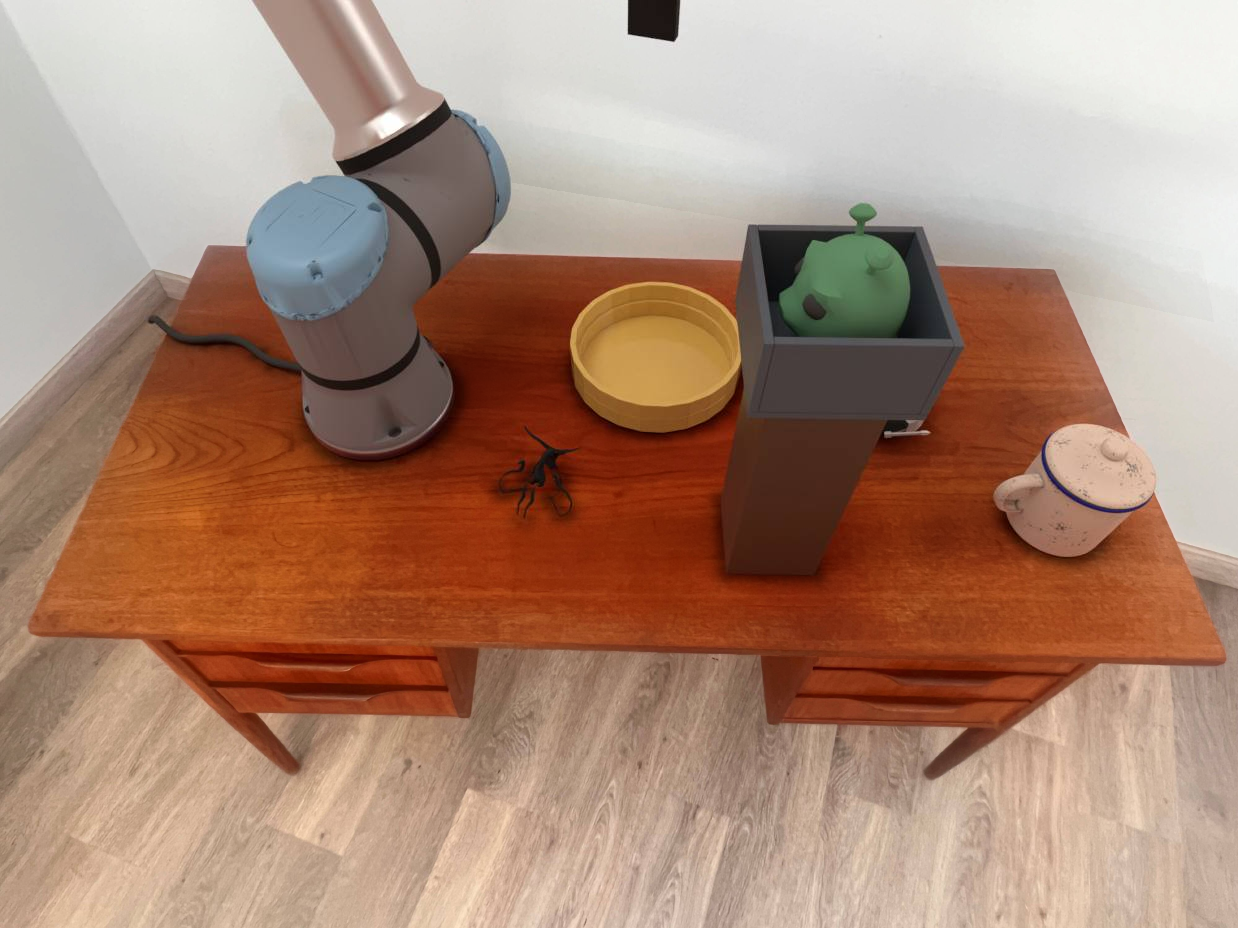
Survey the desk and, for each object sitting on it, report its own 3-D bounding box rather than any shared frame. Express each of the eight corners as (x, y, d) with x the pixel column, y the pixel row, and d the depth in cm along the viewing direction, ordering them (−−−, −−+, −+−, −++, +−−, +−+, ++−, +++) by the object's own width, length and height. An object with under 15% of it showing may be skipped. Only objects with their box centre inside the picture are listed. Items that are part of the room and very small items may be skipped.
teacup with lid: (1076, 476, 73) (1144, 400, 64) (1119, 558, 68) (1200, 487, 58) (958, 483, 73) (1009, 407, 63) (991, 565, 67) (1052, 496, 58)
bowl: (547, 408, 78) (544, 380, 74) (604, 297, 88) (603, 267, 84) (714, 453, 75) (719, 425, 71) (753, 332, 85) (760, 302, 81)
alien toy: (761, 315, 51) (788, 187, 43) (872, 313, 51) (920, 186, 43) (775, 391, 47) (808, 266, 39) (896, 390, 47) (954, 265, 39)
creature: (560, 537, 70) (595, 466, 73) (550, 518, 65) (588, 443, 68) (489, 508, 72) (526, 440, 75) (474, 487, 67) (514, 415, 70)
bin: (708, 587, 66) (764, 343, 41) (703, 487, 72) (748, 223, 47) (834, 589, 66) (965, 346, 41) (817, 489, 72) (923, 226, 47)
